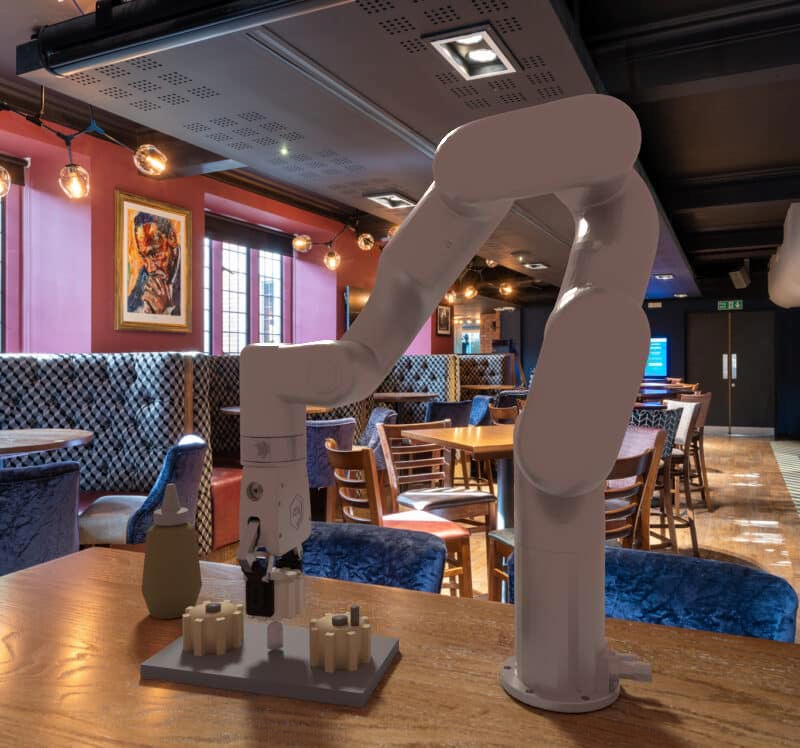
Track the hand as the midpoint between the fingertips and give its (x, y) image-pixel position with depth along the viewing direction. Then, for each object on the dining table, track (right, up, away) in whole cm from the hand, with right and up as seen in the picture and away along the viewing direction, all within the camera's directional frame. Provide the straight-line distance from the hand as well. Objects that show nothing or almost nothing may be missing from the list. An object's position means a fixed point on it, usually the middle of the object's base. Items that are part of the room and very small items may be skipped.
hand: (275, 602), depth 78 cm
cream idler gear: (0, -1, 0) cm, 1 cm away
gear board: (0, -7, 0) cm, 7 cm away
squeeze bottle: (-17, -7, +16) cm, 25 cm away
